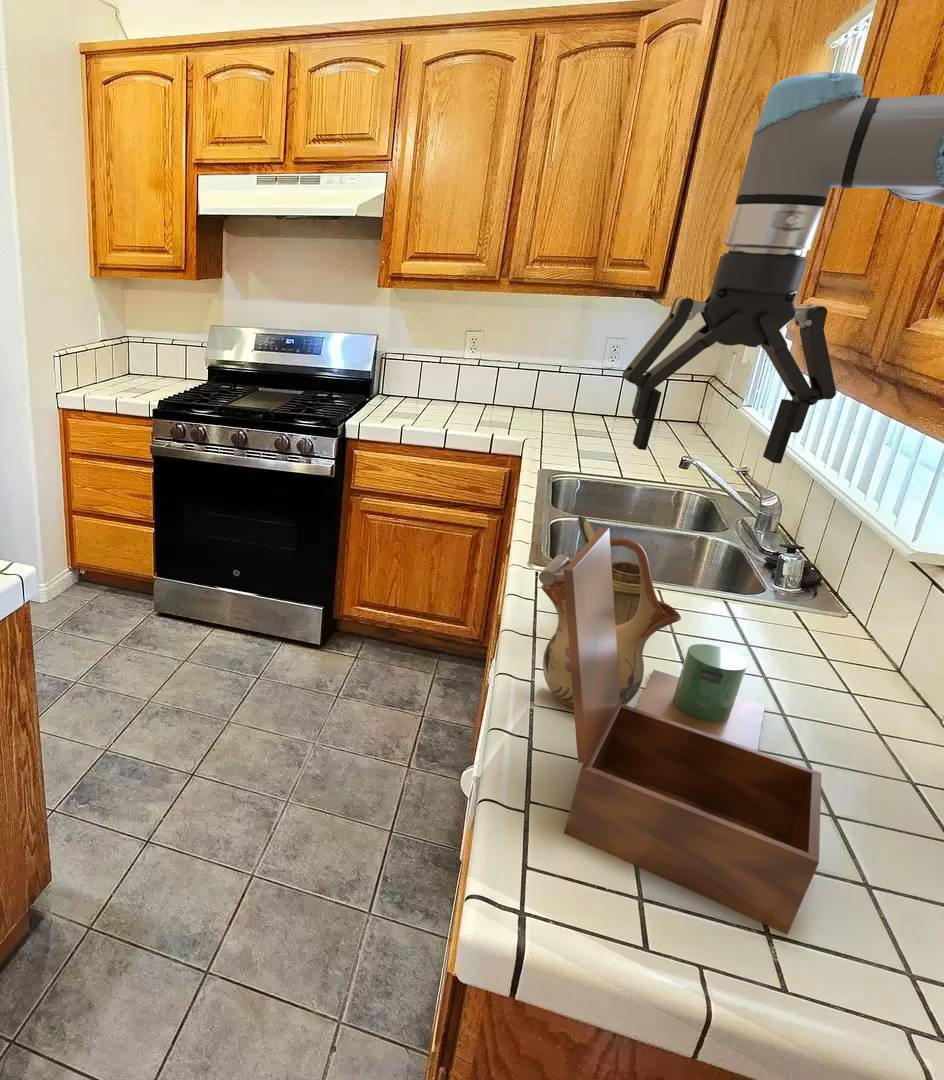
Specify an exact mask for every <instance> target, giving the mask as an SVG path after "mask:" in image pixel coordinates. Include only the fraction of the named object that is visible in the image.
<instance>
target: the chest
mask: <svg viewBox="0 0 944 1080" xmlns="http://www.w3.org/2000/svg"><path fill="white" fill-rule="evenodd" d="M821 803H822V772H820V771H816V770H815V769H812V768H809V767H806V766H803V765H800V764H798V763H794V762H791V761H789V760H785V759H784V758H780V757H777V756H774V755H771V754H768V753H766V752H762V751H759V750H758V751H757V750H754V749H751V748H748V747H745V746H743V745H740V744H737V743H734V742H731V741H728V740H725V739H722V738H719V737H717V736H714V735H711V734H708V733H705V732H702V731H699V730H696V729H694V728H691V727H688V726H685V725H682V724H679V723H676V722H673V721H670V720H668V719H665V718H662V717H659V716H656V715H653V714H650V713H647V712H644V711H642V710H639V709H636V707H633V706H630V705H628V704H626V705H624V704H621V703H619V702H617V704H616V706H615V708H614V710H613V712H612V714H611V716H610V718H609V720H608V722H607V724H606V726H605V728H604V730H603V732H602V734H601V736H600V738H599V740H598V742H597V744H596V746H595V748H594V750H593V752H592V754H591V756H590V758H589V760H588V762H587V764H584V763H582V765H581V768H580V771H579V775H578V779H577V782H576V786H575V789H574V793H573V798H572V801H571V804H570V808H569V812H568V816H567V820H566V823H565V827H564V831H563V834H564V835H566V836H568V837H571V838H573V839H575V840H578V841H579V842H581V843H584V844H587V845H589V846H591V847H593V848H594V849H597V850H599V851H601V852H604V853H606V854H608V855H611V856H613V857H615V858H617V859H620V860H622V861H624V862H626V863H628V864H631V865H633V866H635V867H637V868H639V869H642V870H644V871H646V872H648V873H650V874H653V875H655V876H658V877H659V878H661V879H663V880H666V881H668V882H670V883H673V884H674V885H677V886H680V887H681V888H684V889H686V890H688V891H690V892H692V893H695V894H697V895H699V896H702V897H704V898H706V899H708V900H710V901H713V902H714V903H717V904H719V905H720V906H724V907H725V908H727V909H729V910H732V911H734V912H737V913H739V914H741V915H743V916H745V917H748V918H750V919H752V920H754V921H757V922H758V923H761V924H763V925H766V926H768V927H770V928H772V929H774V930H777V931H778V932H782V933H783V934H784V935H785V934H786V935H789V933H790V930H791V928H792V926H793V924H794V921H795V920H796V916H797V914H798V912H799V909H800V907H801V905H802V903H803V901H804V898H805V896H806V893H807V892H808V889H809V887H810V884H811V882H812V880H813V878H814V875H815V873H816V871H817V868H818V866H819V864H820V843H821V841H820V840H821V839H820V838H821V808H822V807H821V806H822V805H821Z"/></svg>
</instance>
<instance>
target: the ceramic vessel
mask: <svg viewBox="0 0 944 1080" xmlns="http://www.w3.org/2000/svg"><path fill="white" fill-rule="evenodd" d="M610 547H611V548H612V547H623V548H626V549H628V550H630V551H632V552H633V553H634V554H635V556H636V559H637V564H639V569H640V577H641V596H640V603H639V607H638V611H637V613H636V615H635V616H634V618H633V619H631V620H630V621H628V622H626V623H624V624H620V625H615V628H616V644H617V660H618V676H619V692H620V698H619V700H618V702H619V703H621V704H624V705H628V704H629V703H630V702H631V701H632V700H634V698H635V697H636V696H637V694H638V692H639V691H640V688H641V686H642V683H643V680H644V674H645V662H644V654H643V653H644V649H645V645H646V643H647V641H648V639H650V638H651V636H652V635H654V634H655V633H657V632H658V631H659V630H661V629H663V628H665V627H668V626H669V625H672V624H675V623H677V622H679V621H681V620H682V616H681V615H680V613H679V612H678V611H677V610H676V609H675V608H674V607H672V605H670V604H668V603H666V602H664V601H662V600H659V599H658V597H657V595H656V591H655V587H654V583H653V579H652V574H651V568H650V563H649V559H648V556H647V553H646V551H645V549H644V548H643V547H642V546H641V545H640V544H639V543H638V542H636V541H634V540H632V539H630V538H627V537H612V538H611V537H610ZM540 588H541V590H542V591H543V593H545V595H546V596H547V597H548V598H549V600H550V601H551V603H552V605H553V606H554V609H555V611H556V613H557V627H556V630H555V632H554V633H553V635H552V636H551V638H550V639H549V641H548V642H547V644H546V645H545V649H544V653H543V657H542V671H543V672H542V673H543V677H544V681H545V683H546V685H547V688H548V689H549V691H550V693H551V694H552V695H553V696H554V698H556V700H557V701H558V702H559V703H560V704H562V705H564V706H565V707H568V708H569V709H572V710H574V703H573V690H572V677H571V664H570V651H569V638H568V625H567V612H566V598H565V585H564V581H555V582H554V583H553V584H551V585H544V584H542V585H541V586H540Z"/></svg>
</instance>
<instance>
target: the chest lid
mask: <svg viewBox="0 0 944 1080" xmlns="http://www.w3.org/2000/svg"><path fill="white" fill-rule="evenodd" d="M610 538H611V534H610V527H600V528H599V530H597V531H596V534H595V535H594V536H593V538H592V539H591V540H590V541H589V542H588V543H587V544H584V545H585V546H583V547H582V549H581V550H579V552H578V553H577V554H576V555H575V556H574V557H573V558H569V556H568V555H566V554H563V553H561V554H558V555H556V556H555V557H554V558H553V559H552V560H551V561H550V562H549V563H548V565H546V567H545V568H544V569H543V570H541V572H540V573H539V574H538V580H539V582H540V583H541V584H542V585H543V584H544V585H551V584H553V583H554V582H555V581H564V585H565V598H566V612H567V625H568V638H569V651H570V664H571V677H572V690H573V703H574V709H573V715H574V727H575V739H576V754H577V762H578V763H580V764H583V763H584V764H587V762H588V760H589V758H590V756H591V754H592V752H593V750H594V748H595V746H596V744H597V742H598V740H599V738H600V736H601V734H602V732H603V730H604V728H605V726H606V724H607V722H608V720H609V718H610V716H611V714H612V712H613V710H614V708H615V706H616V704H617V702H618V700H619V698H620V692H619V676H618V660H617V644H616V628H615V611H614V595H613V579H612V563H613V562H612V563H611V559H612V550H611V549H612V547H610Z"/></svg>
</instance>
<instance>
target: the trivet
mask: <svg viewBox="0 0 944 1080" xmlns="http://www.w3.org/2000/svg"><path fill="white" fill-rule="evenodd" d="M679 677H680V676H679ZM679 677H678V676H676V675H673V674H669V673H667V672H664V671H660V670H656V669H652V672H651V674H650V676H649V679H648V680H647V683H646V685H645V687H644V690H643V692H642V694H641V695H640V699H639V701H638V703H637V705H636V707H635V708H636V709H639V710H642V711H644V712H647V713H650V714H653V715H656V716H659V717H662V718H665V719H668V720H670V721H673V722H676V723H679V724H682V725H685V726H688V727H691V728H694V729H696V730H699V731H702V732H705V733H708V734H711V735H714V736H717V737H719V738H722V739H725V740H728V741H731V742H734V743H737V744H740V745H743V746H745V747H748V748H751V749H754V750H757V751H759V746H760V740H761V734H762V728H763V727H762V726H763V721H764V715H765V710H766V709H765V708H766V704H765V703H760V702H757V701H754V700H752V699H748V698H745V697H742V696H739V695H737V697H736V700H735V703H734V706H733V709H732V712H731V714H730V717H729V719H728V720H726V721H723V722H710V721H705V720H701V719H698V718H695V717H693V716H690V715H688V714H686V713H684V712H683V711H681V710H680V709H679V708H678V707H676V705H675V704H674V702H673V696H674V693H675V690H676V687H677V683H678V680H679Z"/></svg>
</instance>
